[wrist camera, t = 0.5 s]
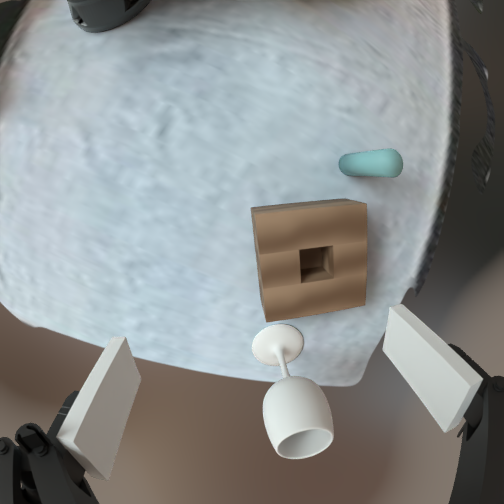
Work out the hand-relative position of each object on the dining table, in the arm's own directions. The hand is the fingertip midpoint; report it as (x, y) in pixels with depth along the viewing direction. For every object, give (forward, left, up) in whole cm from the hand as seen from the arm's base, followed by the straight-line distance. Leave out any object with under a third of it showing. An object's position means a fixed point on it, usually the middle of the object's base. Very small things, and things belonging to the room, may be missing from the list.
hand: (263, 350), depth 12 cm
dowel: (-8, +17, -28) cm, 33 cm away
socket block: (+4, +9, -28) cm, 29 cm away
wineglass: (+20, +4, -28) cm, 34 cm away
